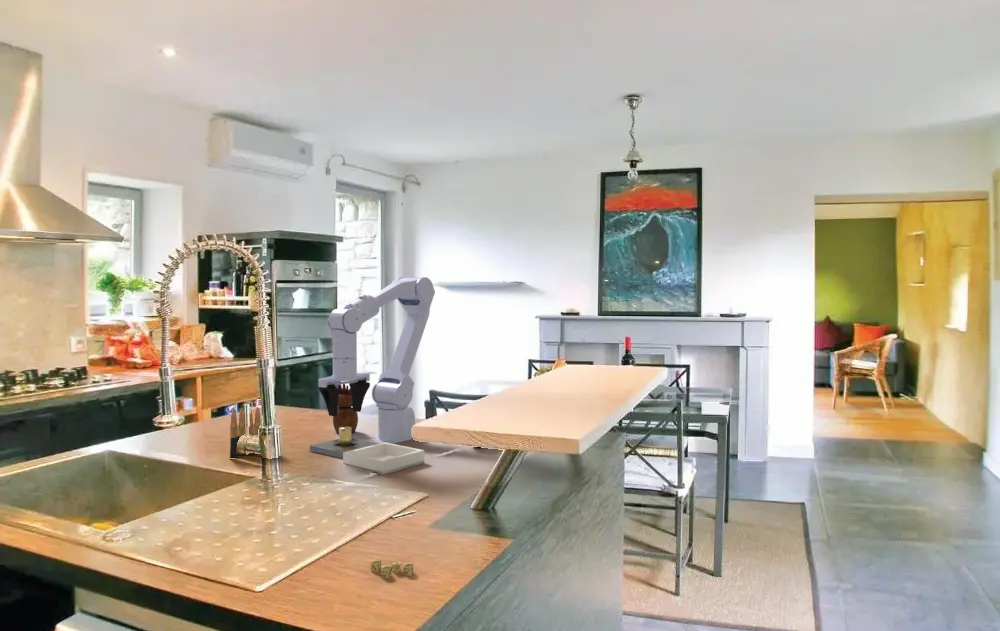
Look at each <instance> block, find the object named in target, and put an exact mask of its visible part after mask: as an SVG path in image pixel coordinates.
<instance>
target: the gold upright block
mask: <svg viewBox="0 0 1000 631" xmlns="http://www.w3.org/2000/svg"><path fill="white" fill-rule="evenodd" d="M352 434H353V433H352V432H351V427H340V428H339V433H338V439H339V446H340V447H349V446H352V438H353V436H352Z"/></svg>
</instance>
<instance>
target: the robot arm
mask: <svg viewBox="0 0 1000 631" xmlns="http://www.w3.org/2000/svg"><path fill="white" fill-rule="evenodd" d="M435 294H436V290H435V288H434V284H433V282H432V280H431V279H430V278H428V276H427V277H426V276H423V277H404V276H401V277H398V278H397V279H394V280H392V281H391V283H390V284H389V285H387V286H385V287H384V288H382V289H381V290H380V291H378V292H377V293H375V294H374V295H370V294H360V295H359V296H358V299H356V300H354V301H353V302H350V303H349V302H348V303H346V304H345V306H344V307H343V308H336V309H333V310H332V311H331V312H330V314H329V316H328V319H327V320H326V324H327V327H328V329H329V330H330V337H331V339H332V375H330V376H326V377H322V378H318V391H319V392H320V394H321V396H322V398H323V401H324V403H325V405H326V409H327V413H328V416H329V417H333V416H337V407H339V406H338V397H339V393H340V390H341V389H340V388H338V387H336V386H338V385H341V386H342V385H343V384H345V385H346V384H348V386H349V389H351V394H352V407H353V411H357V413H359V412H361V411H362V406H363V404H364V399H365V397H366V394H367V392H368V390H370V389H369V388H370V387H371V383H370V381H371V377H370V376H371V374H370V372H359V373H358V368H357V367H358V366H357V365H358V361H357V360H358V357H357V353H358V352H357V350H358V348H357V344H358V343H357V333H358V332H359V331H360V330H361V328H362V325H363V324H364V323H366V322H367V321H369V320H371V319H372V318H375V317H376V316H377V315H378V314H379V312H380V308H382V307H383V306H384V307H385V305H387V304H390V303H391V302H394V301H395V300H397V301H398V303H399V304H400V305H401V307H402V309H403V310H404V311H406V314H407V317H406V319H405V323H404V326H403V329H402V331H401V334H400V337H399V339H398V343H397V345H396V347H395V350H394V354H393V357H392V360H391V362H390V365H389V368H388V369H386V370H384V371H383V372H382V373H381V374H379V378H378V379H377V381H376V382H375V383H374V384H373V387H372V389H371V398H372V400H373V402H374V403H375V404H376V408H377V412H378V413H377V415H378V418H377V419H378V420H377V423H378V433H377V434H378V436H377V437H375V438H371V440H372V441H375V442H379V443H384V442H386V443H391V444H397V443H401V442H405V441H409V440H412V436H411V428H412V426H413V425H415V426H416V415H415V411H414V409H413V408H412V406H410V403H411V402H412V400H413V390H414V385H415V381H414V380H413V378H411V376H410V373H411V370H412V367H413V364H414V361H415V359H416V355H417V352H418V349H419V346H420V344H421V341H422V338H423V335H424V332H425V330H426V326H427V322H428V321H429V317H430V312H431V311H430V309H431V306H432V303H433V300H434V298H435V297H434V296H435ZM344 381H345V382H344Z"/></svg>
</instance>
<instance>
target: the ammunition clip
mask: <svg viewBox="0 0 1000 631" xmlns="http://www.w3.org/2000/svg"><path fill="white" fill-rule="evenodd" d="M243 411H244V408H243V407H241V408H240V409H239V415H238V416H239V417H238V418H239V419H238V418H237V413H236V409H235V407H233V408H232V410H231V416H230V426H229V427H230V430H229V435H230V440H229V441H230V446H229V447H230V448H229V459H230V458H239V457H249V456H250V457H251V456H259V455H258V454H255V453H249V454H248V456H246V455H245V454H244V453H243V452H241V451H239V448H238V449H237V442H238V440H239V438H240V437H241V436H242V435H244V434H245V426H244V417H245V412H244V413H243ZM276 416H277V415H276V414H275V417H276ZM237 420H238V422H237ZM261 420H262V419H261V412H260V408H259V407H258V406H257V407H256V409H255V413H254V419H253V411H252V409H251V413H250V427H249V434H250V435H252V436H253V435H258V429H259V426H260V423H261V424H262V422H261Z"/></svg>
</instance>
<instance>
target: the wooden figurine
mask: <svg viewBox="0 0 1000 631" xmlns="http://www.w3.org/2000/svg"><path fill="white" fill-rule="evenodd" d="M343 382H345V381H343ZM337 388H340V389H341V390H340V393H339V397H338V406H337V416H332V425H333V428H334V431H335V432H336V433H337V434H339V428H340V427H351V432H352V434H354V433H355V432H356V430H357V427H358V423H359V415H358V412H357V411H353V407H352V394H351V389H350V388H349V384H348V385H346V384H341V385H337Z"/></svg>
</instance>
